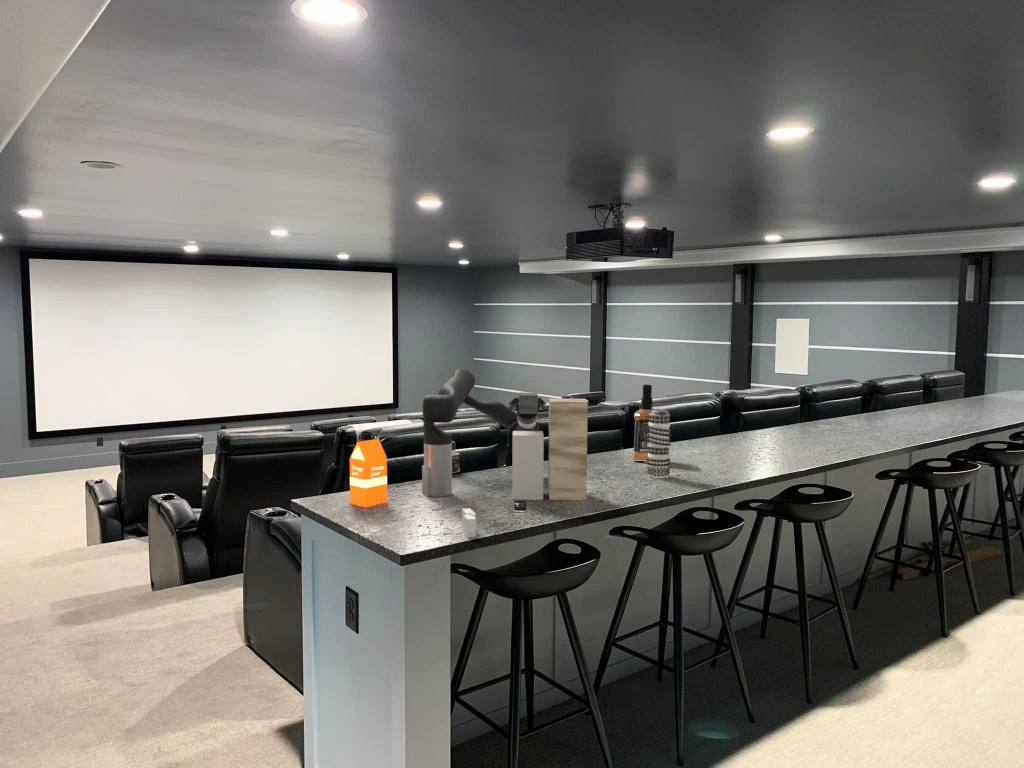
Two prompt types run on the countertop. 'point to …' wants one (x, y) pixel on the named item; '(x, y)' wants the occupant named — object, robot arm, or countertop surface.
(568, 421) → the stand
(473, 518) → the napkin holder
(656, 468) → the decorative candle
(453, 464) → the medicine bottle
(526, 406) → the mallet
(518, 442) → the tall white pillar block
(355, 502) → the orange juice
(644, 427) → the whiskey bottle
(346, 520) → the countertop surface
